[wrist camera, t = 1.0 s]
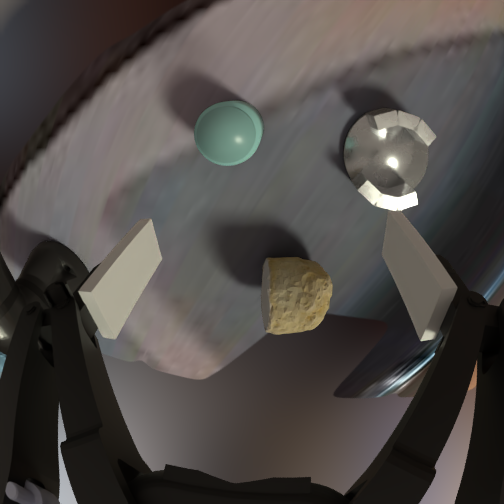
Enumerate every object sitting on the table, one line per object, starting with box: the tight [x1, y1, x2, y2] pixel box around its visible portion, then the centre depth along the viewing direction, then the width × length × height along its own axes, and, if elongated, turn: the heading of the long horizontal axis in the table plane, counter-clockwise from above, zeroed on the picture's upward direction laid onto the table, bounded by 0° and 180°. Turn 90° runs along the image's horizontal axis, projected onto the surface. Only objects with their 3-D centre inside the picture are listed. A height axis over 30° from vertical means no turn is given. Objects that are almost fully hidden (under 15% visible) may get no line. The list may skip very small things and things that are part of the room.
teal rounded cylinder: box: [194, 100, 264, 166], centre depth 26 cm, size 6×6×6 cm
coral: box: [261, 257, 332, 334], centre depth 34 cm, size 10×10×10 cm
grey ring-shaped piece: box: [343, 108, 436, 211], centre depth 26 cm, size 10×10×4 cm
